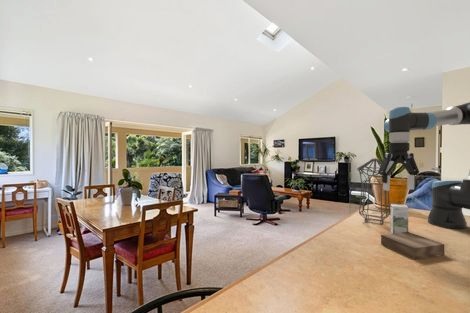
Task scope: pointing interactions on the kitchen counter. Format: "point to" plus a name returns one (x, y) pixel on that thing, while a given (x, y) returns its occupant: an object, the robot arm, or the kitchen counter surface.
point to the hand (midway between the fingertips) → (398, 189)
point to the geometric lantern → (368, 191)
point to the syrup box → (399, 218)
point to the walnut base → (412, 245)
